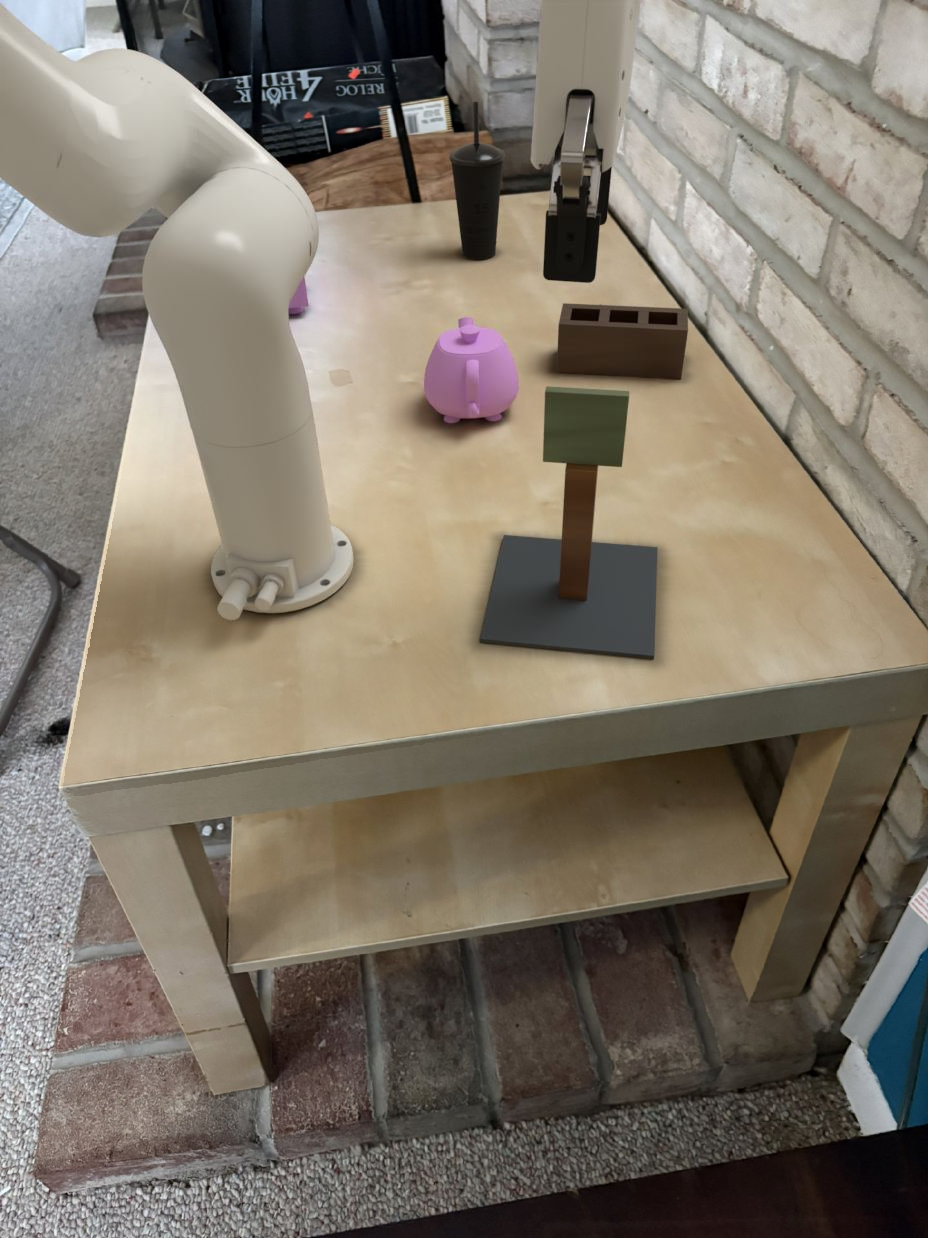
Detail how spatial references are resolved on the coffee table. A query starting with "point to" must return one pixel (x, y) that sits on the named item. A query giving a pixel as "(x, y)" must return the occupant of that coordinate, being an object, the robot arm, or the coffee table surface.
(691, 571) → the coffee table surface
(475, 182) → the drinking cup
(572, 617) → the mat
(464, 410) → the teapot
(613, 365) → the rack
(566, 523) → the spatula
